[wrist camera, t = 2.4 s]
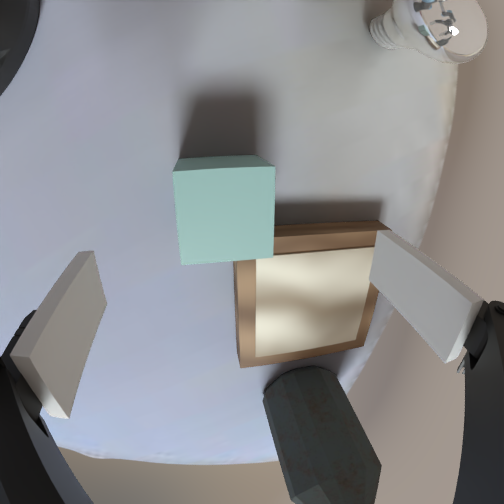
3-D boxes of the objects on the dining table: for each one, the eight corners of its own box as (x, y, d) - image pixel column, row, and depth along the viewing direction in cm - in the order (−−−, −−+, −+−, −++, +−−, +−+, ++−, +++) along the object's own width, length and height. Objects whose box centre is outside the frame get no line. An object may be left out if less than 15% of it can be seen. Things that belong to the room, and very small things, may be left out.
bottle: (342, 357, 34) (449, 559, 8) (328, 401, 39) (403, 570, 12) (262, 371, 33) (340, 613, 6) (260, 415, 37) (316, 604, 10)
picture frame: (232, 228, 24) (236, 240, 22) (377, 220, 27) (392, 230, 24) (236, 351, 30) (240, 369, 28) (354, 332, 33) (364, 346, 30)
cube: (178, 158, 21) (172, 171, 16) (255, 154, 22) (275, 166, 17) (184, 231, 24) (181, 265, 19) (255, 226, 25) (273, 257, 20)
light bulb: (417, 50, 20) (515, 43, 9) (377, 83, 21) (484, 81, 10) (375, -7, 17) (464, -43, 6) (328, 21, 18) (420, -25, 7)
